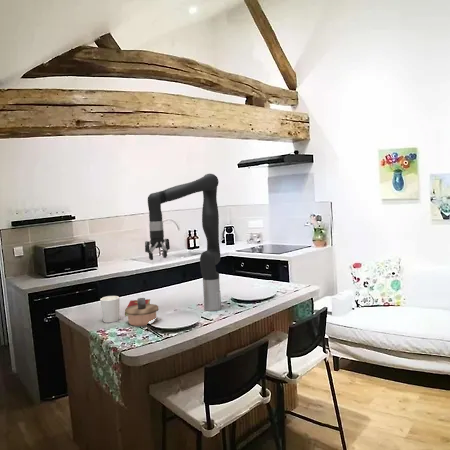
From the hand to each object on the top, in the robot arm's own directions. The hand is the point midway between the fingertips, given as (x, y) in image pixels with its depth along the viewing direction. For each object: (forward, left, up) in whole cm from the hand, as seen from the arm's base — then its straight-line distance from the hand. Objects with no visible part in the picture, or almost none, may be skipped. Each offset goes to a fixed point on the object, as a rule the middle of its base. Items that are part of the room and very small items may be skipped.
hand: (158, 258), depth 244 cm
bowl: (+6, +17, -30) cm, 35 cm away
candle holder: (+24, +13, -30) cm, 41 cm away
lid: (+6, +17, -24) cm, 30 cm away
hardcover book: (+15, -5, -31) cm, 34 cm away
